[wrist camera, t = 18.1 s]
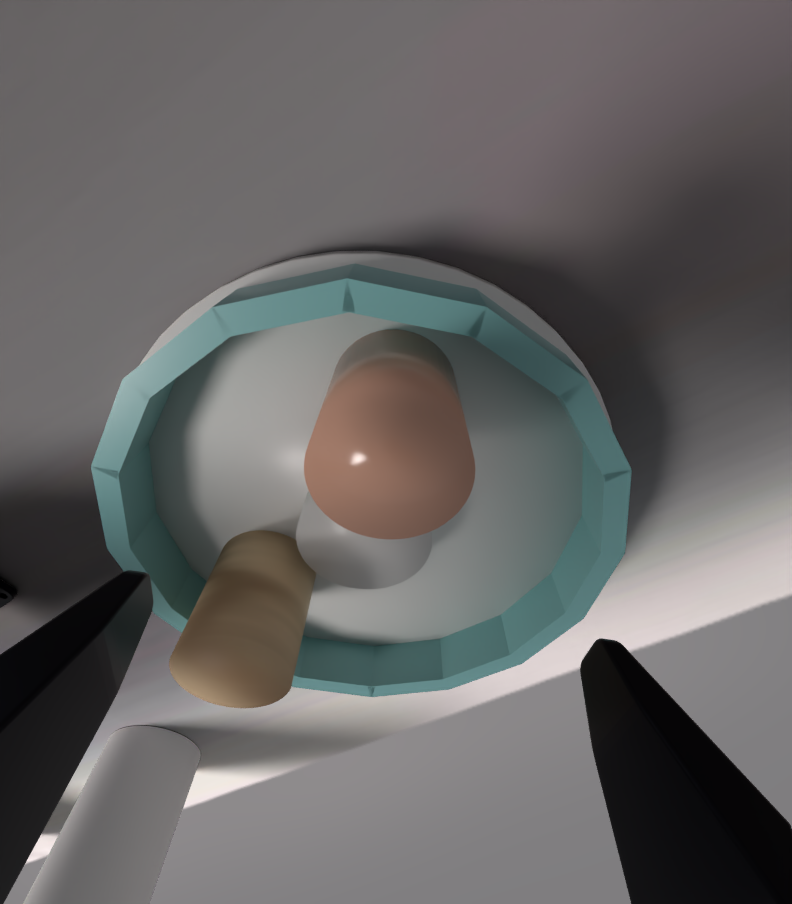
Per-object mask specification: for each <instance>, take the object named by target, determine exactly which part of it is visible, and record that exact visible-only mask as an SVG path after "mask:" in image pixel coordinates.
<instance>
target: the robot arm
mask: <svg viewBox="0 0 792 904" xmlns="http://www.w3.org/2000/svg"><path fill="white" fill-rule="evenodd" d="M16 595H17V591H16V589H15V588H13V587H12V586H10V585H9V584H7V583H6V582H4V581H2V580H1V579H0V608H1V607H2V606H4V605H5V604H7V603H9V602H10V601H11V600H12V599H13V598H14V597H15V596H16ZM152 608H153V593H152V586H151V578H150V575H149V574H148V573H146V572H140V571H133V570H127V571H124V572H122V573H120V574H119V575H117V576H116V577H114V578H113V579H111V580H110V581H108V582H107V583H105V584H104V585H102V586H101V587H99V588H98V589H96V590H95V591H94V592H92V593H91V594H89V595H88V596H86V597H85V598H83V599H82V600H80V601H79V602H77V603H76V604H74V605H73V606H71V607H70V608H68V609H67V610H65V611H64V612H62V613H61V614H60V615H58V616H57V617H55V618H54V619H52V620H51V621H49V622H48V623H46V624H45V625H43V626H42V627H40V628H39V629H37V630H36V631H34V632H33V633H31V634H30V635H29V636H27V637H26V638H24V639H23V640H21V641H20V642H18V643H17V644H15V645H14V646H12V647H11V648H9V649H8V650H6V651H5V652H3V653H2V654H0V904H3V903H4V901H5V900H6V898H7V896H8V894H9V892H10V890H11V888H12V887H13V885H14V883H15V881H16V879H17V878H18V875H19V874H20V872H21V870H22V868H23V867H24V865H25V863H26V861H27V859H28V857H29V855H30V854H31V852H32V850H33V848H34V846H35V844H36V843H37V841H38V839H39V837H40V835H41V833H42V832H43V830H44V828H45V826H46V824H47V822H48V821H49V819H50V817H51V815H52V813H53V811H54V809H55V808H56V806H57V804H58V802H59V800H60V798H61V797H62V795H63V793H64V791H65V789H66V787H67V786H68V784H69V782H70V780H71V778H72V776H73V775H74V773H75V771H76V769H77V767H78V765H79V763H80V762H81V760H82V758H83V756H84V754H85V752H86V751H87V749H88V747H89V745H90V743H91V741H92V740H93V738H94V736H95V734H96V732H97V730H98V729H99V727H100V725H101V723H102V721H103V719H104V717H105V716H106V714H107V712H108V710H109V708H110V706H111V705H112V703H113V701H114V699H115V697H116V695H117V693H118V691H119V688H120V686H121V684H122V682H123V679H124V677H125V675H126V672H127V670H128V667H129V665H130V663H131V660H132V658H133V655H134V653H135V651H136V648H137V646H138V643H139V641H140V639H141V636H142V634H143V631H144V629H145V627H146V624H147V622H148V619H149V617H150V615H151V612H152ZM580 672H581V679H582V686H583V692H584V698H585V705H586V712H587V718H588V723H589V731H590V738H591V743H592V748H593V753H594V757H595V762H596V766H597V770H598V774H599V778H600V782H601V786H602V790H603V793H604V797H605V801H606V805H607V809H608V813H609V817H610V821H611V825H612V829H613V833H614V837H615V841H616V845H617V848H618V853H619V856H620V861H621V864H622V868H623V872H624V876H625V880H626V884H627V888H628V892H629V896H630V900H631V904H792V829H791V825H790V824H789V822H788V821H787V820H786V819H785V818H784V817H783V816H782V815H781V814H780V813H779V812H778V811H777V810H776V809H775V807H774V806H773V805H772V804H771V803H770V802H769V801H768V800H767V799H766V798H765V797H764V796H763V795H762V794H761V792H760V791H759V790H757V788H756V787H755V786H754V785H753V784H752V783H751V782H750V781H749V780H748V779H747V778H746V776H745V775H743V773H742V772H741V771H740V770H739V769H738V768H737V767H736V766H735V765H734V764H733V763H732V761H730V760H729V758H728V757H727V756H726V755H725V754H724V753H723V752H722V751H721V750H720V749H719V748H718V747H717V745H716V744H715V743H714V742H713V741H712V740H711V739H710V738H709V737H708V736H707V735H706V734H705V733H704V732H703V730H702V729H701V728H700V727H699V726H698V725H697V724H696V723H695V722H694V721H693V720H692V719H691V718H690V717H689V716H688V715H687V713H686V712H685V711H684V710H683V709H682V708H681V707H680V706H679V705H678V704H677V703H676V702H675V701H674V699H673V698H672V697H671V696H670V695H669V694H668V693H667V692H666V691H665V690H664V689H663V688H662V687H661V686H660V685H659V683H658V682H657V681H656V680H655V679H654V678H653V677H652V676H651V675H650V674H649V673H648V672H647V671H646V670H645V669H644V667H643V666H642V665H641V664H640V663H639V662H638V661H637V660H636V659H635V658H634V657H633V656H632V655H631V653H630V652H629V651H628V650H627V649H626V648H625V647H624V646H623V645H622V644H621V643H619V642H618V641H614V640H608V639H598V640H596V641H595V642H594V644H593V645H592V647H591V648H590V650H589V651H588V653H587V654H586V656H585V657H584V659H583V660H582V663H581V668H580Z"/></svg>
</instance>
